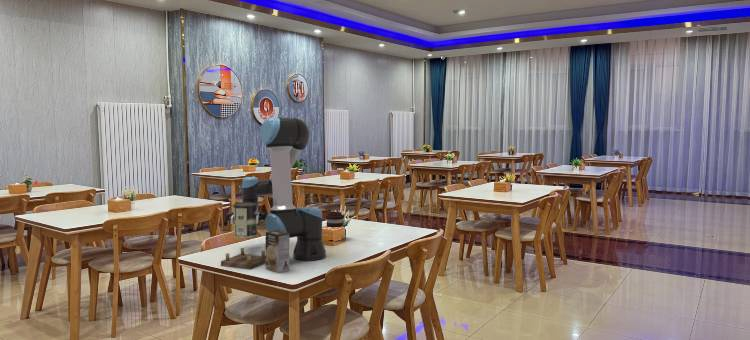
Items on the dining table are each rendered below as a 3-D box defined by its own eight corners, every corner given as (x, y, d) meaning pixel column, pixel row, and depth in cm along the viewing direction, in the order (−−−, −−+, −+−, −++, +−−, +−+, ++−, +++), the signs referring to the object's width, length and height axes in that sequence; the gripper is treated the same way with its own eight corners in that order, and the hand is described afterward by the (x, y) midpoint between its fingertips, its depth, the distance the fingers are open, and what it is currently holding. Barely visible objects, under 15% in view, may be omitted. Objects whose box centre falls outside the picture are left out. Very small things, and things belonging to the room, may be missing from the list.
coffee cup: (326, 242, 278) (326, 214, 277) (324, 238, 288) (324, 211, 287) (345, 241, 280) (345, 213, 279) (342, 237, 290) (342, 210, 289)
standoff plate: (269, 261, 238) (269, 250, 238) (250, 269, 224) (250, 257, 224) (241, 257, 243) (241, 247, 243) (220, 265, 229) (220, 254, 229)
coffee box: (264, 269, 225) (264, 231, 224) (276, 266, 230) (276, 229, 229) (278, 273, 219) (278, 235, 218) (290, 270, 224) (290, 232, 223)
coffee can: (256, 232, 239) (256, 202, 238) (258, 237, 229) (258, 205, 228) (232, 234, 236) (232, 202, 235) (233, 238, 226) (233, 206, 225)
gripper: (272, 219, 252) (271, 228, 230) (224, 220, 248) (217, 229, 227) (272, 204, 251) (271, 211, 229) (223, 204, 248) (217, 212, 226)
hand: (244, 220), depth 228 cm, fingers closed on coffee can, 10 cm apart
